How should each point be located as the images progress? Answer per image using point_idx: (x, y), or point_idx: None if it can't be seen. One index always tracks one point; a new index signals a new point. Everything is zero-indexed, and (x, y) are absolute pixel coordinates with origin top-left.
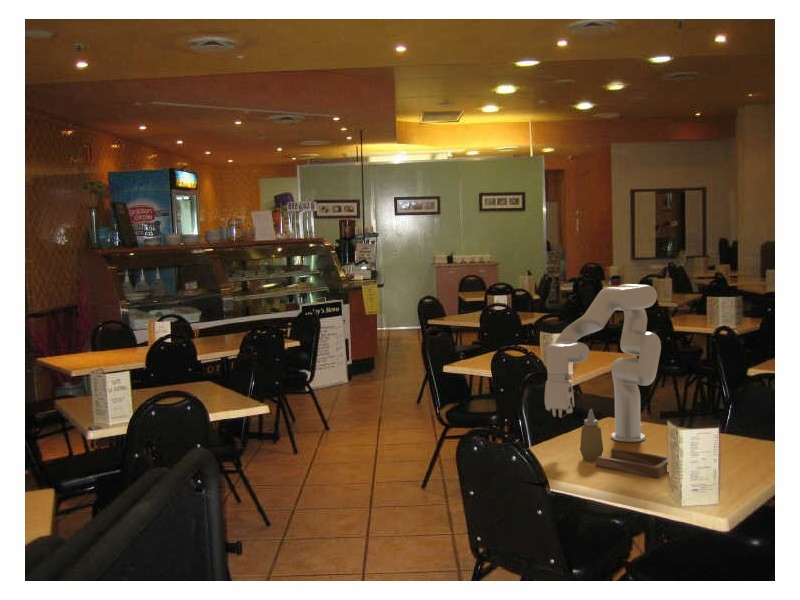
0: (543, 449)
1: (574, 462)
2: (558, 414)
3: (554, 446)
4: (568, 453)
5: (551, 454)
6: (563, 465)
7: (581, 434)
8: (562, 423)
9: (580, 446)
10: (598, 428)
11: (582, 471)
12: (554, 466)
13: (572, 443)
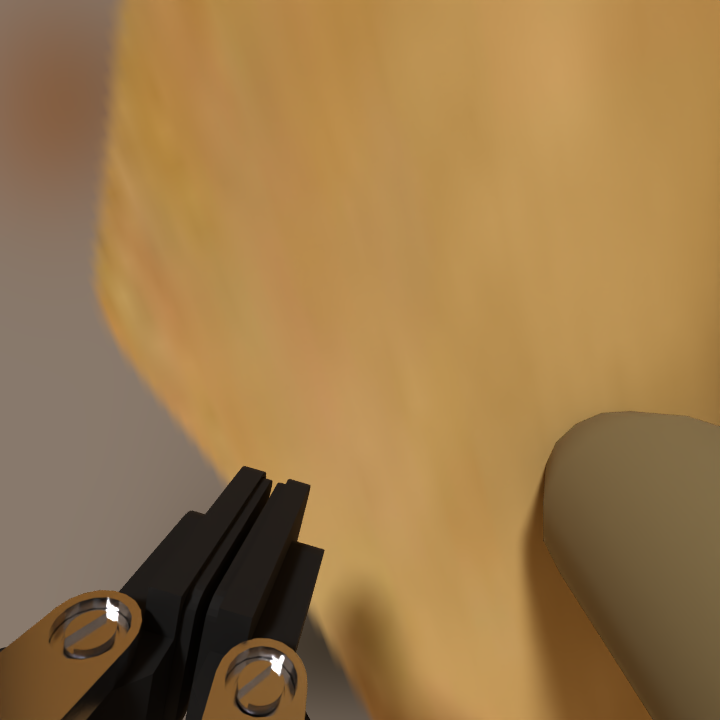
0: (173, 316)
1: (492, 561)
2: (135, 714)
3: (220, 193)
4: (392, 360)
5: (278, 426)
6: (434, 636)
7: (634, 683)
8: (307, 611)
9: (561, 570)
10: None
11: (583, 717)
12: (384, 666)
13: (338, 14)
